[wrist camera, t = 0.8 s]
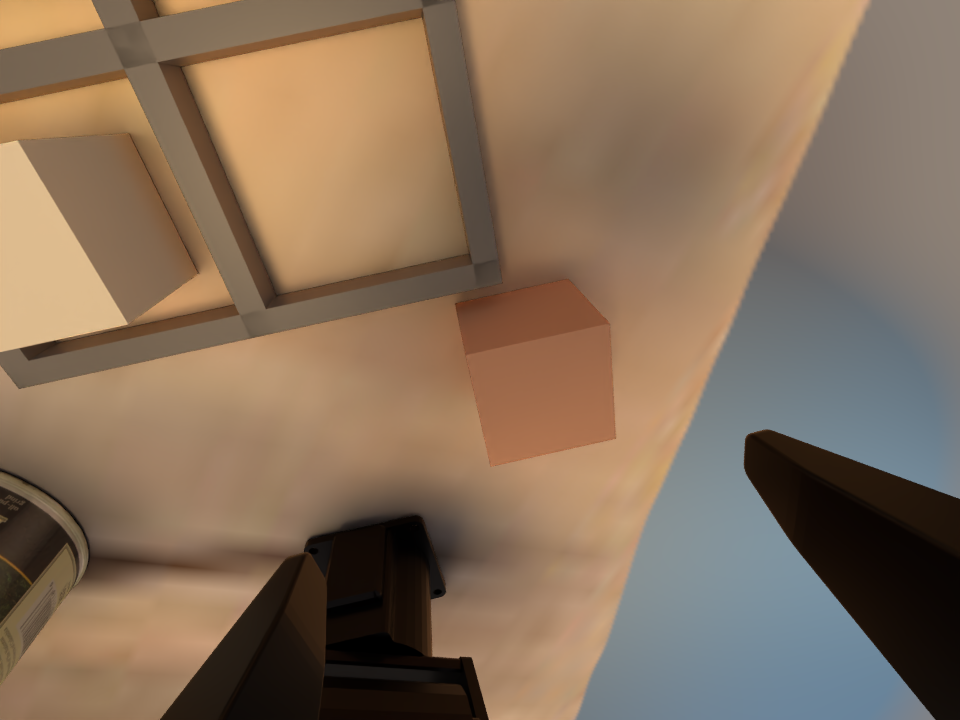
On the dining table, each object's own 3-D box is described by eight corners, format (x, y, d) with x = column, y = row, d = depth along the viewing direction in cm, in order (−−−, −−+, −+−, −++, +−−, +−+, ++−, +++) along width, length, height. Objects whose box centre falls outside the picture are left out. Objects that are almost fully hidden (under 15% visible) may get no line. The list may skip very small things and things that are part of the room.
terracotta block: (577, 375, 23) (615, 438, 18) (476, 398, 22) (490, 466, 18) (567, 278, 20) (609, 323, 16) (454, 303, 20) (465, 355, 16)
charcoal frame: (496, 271, 20) (520, 317, 15) (46, 370, 19) (-64, 446, 15) (358, -530, 10) (317, -996, 6) (-501, -374, 10) (-1206, -751, 6)
